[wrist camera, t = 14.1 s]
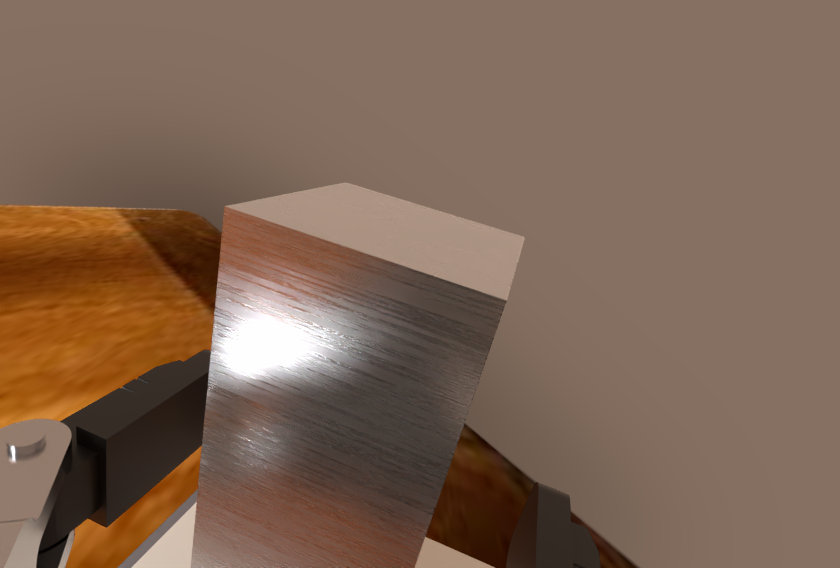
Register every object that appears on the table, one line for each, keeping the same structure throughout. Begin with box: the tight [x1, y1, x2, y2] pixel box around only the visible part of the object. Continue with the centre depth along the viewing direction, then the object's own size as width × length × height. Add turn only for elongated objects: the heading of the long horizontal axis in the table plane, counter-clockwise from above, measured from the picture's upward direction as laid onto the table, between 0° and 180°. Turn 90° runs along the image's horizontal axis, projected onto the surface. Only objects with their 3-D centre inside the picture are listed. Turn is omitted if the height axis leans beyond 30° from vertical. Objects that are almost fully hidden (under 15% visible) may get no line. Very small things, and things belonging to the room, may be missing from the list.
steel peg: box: [191, 183, 525, 568], centre depth 11 cm, size 4×4×16 cm
